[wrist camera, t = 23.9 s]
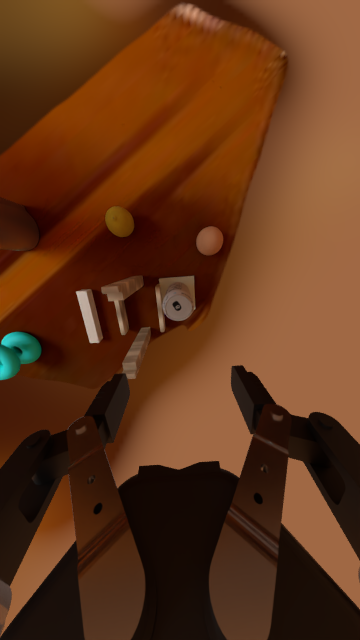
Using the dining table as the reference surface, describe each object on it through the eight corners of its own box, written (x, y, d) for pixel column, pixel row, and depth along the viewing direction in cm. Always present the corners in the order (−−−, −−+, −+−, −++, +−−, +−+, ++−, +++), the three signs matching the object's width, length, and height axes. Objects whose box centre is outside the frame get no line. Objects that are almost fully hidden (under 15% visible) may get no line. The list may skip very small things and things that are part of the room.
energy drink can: (174, 308, 45) (173, 329, 31) (162, 289, 43) (154, 303, 29) (193, 296, 44) (201, 313, 30) (181, 276, 42) (184, 284, 28)
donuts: (19, 380, 41) (-19, 384, 42) (49, 358, 51) (17, 361, 51) (1, 345, 38) (-41, 349, 38) (36, 328, 47) (2, 332, 48)
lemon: (113, 211, 38) (98, 198, 30) (138, 214, 38) (128, 203, 31) (114, 237, 40) (99, 232, 32) (137, 240, 40) (127, 235, 33)
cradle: (115, 277, 43) (71, 289, 25) (159, 274, 43) (147, 283, 25) (127, 336, 49) (98, 381, 31) (166, 334, 49) (159, 376, 31)
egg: (191, 251, 41) (194, 249, 33) (199, 226, 39) (205, 217, 31) (212, 259, 42) (221, 258, 34) (221, 235, 40) (232, 228, 32)
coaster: (159, 278, 43) (158, 278, 42) (193, 275, 43) (193, 276, 42) (162, 311, 46) (162, 312, 45) (195, 308, 46) (195, 309, 45)
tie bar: (82, 289, 44) (76, 291, 41) (91, 289, 44) (86, 290, 41) (95, 338, 49) (90, 343, 46) (103, 337, 49) (98, 342, 46)
